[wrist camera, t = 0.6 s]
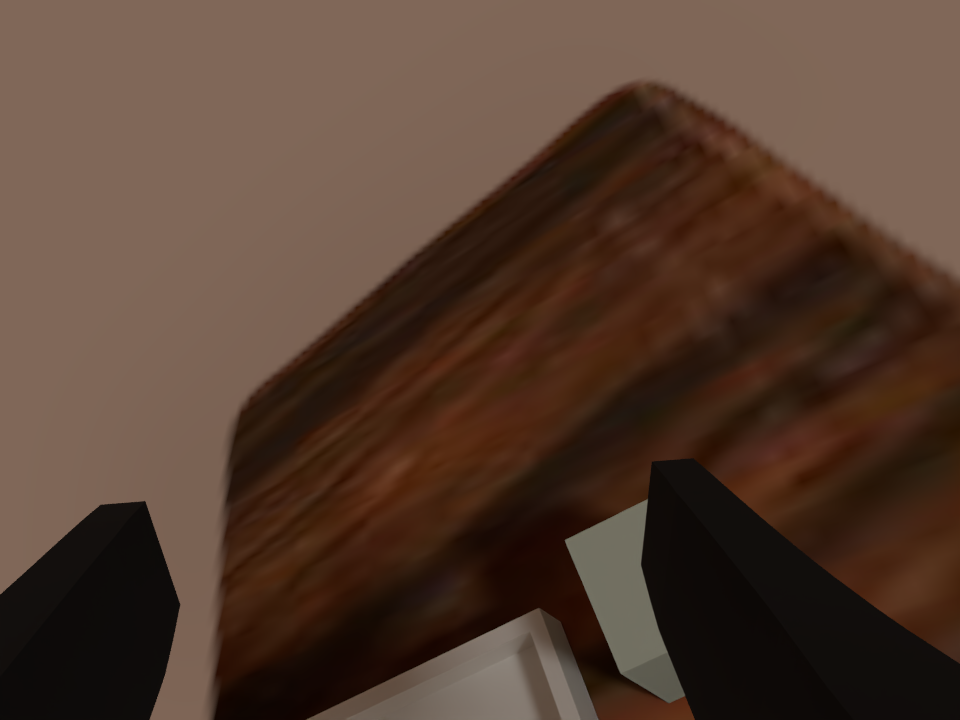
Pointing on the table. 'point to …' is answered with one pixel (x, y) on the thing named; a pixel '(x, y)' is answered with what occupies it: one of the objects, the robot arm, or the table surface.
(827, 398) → the table surface
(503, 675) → the serving tray
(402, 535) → the table surface
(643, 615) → the sage block
